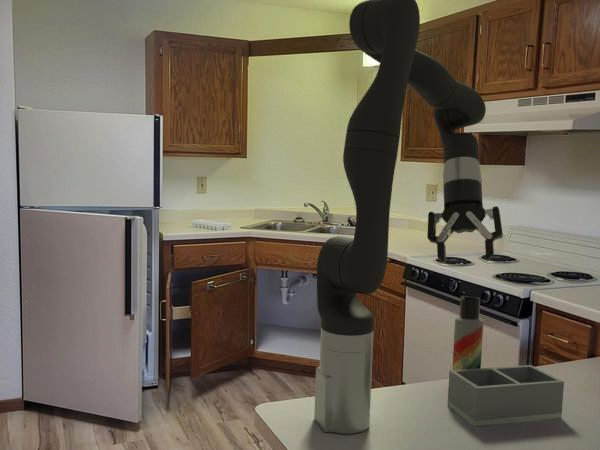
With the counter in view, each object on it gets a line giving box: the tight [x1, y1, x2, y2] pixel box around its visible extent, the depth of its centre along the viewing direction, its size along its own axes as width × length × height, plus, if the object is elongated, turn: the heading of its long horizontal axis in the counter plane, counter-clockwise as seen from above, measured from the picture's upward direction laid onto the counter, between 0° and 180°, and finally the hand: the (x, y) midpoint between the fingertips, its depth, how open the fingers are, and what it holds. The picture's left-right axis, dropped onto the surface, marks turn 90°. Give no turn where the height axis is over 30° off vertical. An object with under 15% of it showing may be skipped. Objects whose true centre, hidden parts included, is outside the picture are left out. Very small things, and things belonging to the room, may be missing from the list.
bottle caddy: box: [447, 364, 565, 427], centre depth 112 cm, size 18×10×7 cm, turn 105°
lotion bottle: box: [451, 295, 484, 370], centre depth 123 cm, size 6×6×20 cm
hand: (465, 261), depth 115 cm, fingers open, 8 cm apart
